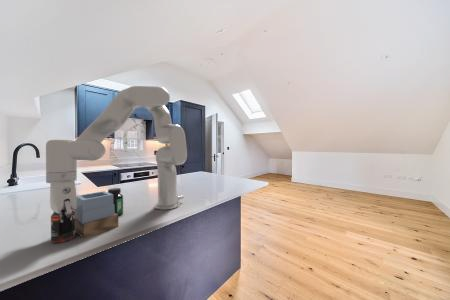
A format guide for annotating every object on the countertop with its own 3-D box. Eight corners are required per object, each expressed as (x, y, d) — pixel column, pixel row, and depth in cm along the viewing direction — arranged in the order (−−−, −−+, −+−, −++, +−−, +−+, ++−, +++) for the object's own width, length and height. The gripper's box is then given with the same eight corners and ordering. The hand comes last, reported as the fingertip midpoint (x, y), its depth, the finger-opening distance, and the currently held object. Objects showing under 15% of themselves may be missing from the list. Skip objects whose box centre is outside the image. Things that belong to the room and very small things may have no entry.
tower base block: (105, 220, 75) (105, 209, 75) (118, 227, 69) (118, 214, 69) (73, 230, 66) (72, 217, 66) (83, 239, 60) (83, 224, 60)
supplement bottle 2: (123, 216, 80) (123, 189, 80) (105, 219, 76) (105, 191, 76) (122, 211, 85) (122, 186, 85) (105, 214, 81) (105, 188, 81)
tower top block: (104, 209, 75) (104, 190, 75) (114, 215, 69) (114, 194, 68) (74, 217, 67) (74, 195, 67) (82, 223, 61) (82, 200, 61)
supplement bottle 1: (79, 234, 62) (79, 202, 62) (64, 243, 56) (64, 208, 56) (62, 235, 62) (61, 203, 62) (45, 244, 56) (45, 208, 56)
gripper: (85, 177, 57) (85, 233, 57) (68, 173, 67) (68, 221, 67) (53, 181, 51) (54, 243, 51) (39, 176, 61) (40, 228, 61)
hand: (62, 230), depth 59 cm, fingers closed on supplement bottle 1, 6 cm apart
